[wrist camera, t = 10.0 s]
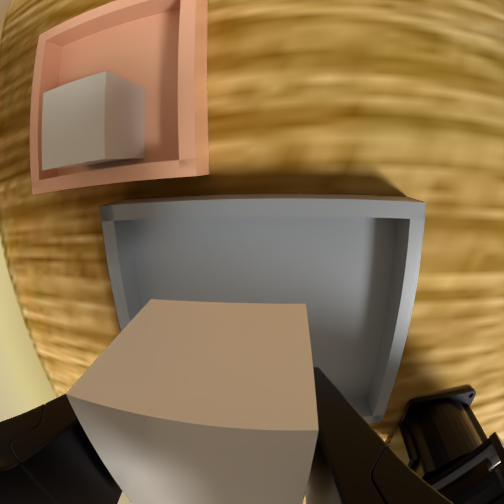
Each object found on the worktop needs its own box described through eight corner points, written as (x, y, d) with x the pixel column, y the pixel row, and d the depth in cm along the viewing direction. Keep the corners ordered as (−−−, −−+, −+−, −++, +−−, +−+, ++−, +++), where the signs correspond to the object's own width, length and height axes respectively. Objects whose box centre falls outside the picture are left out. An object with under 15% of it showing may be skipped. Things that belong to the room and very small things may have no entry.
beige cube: (305, 303, 7) (318, 429, 3) (297, 416, 8) (296, 526, 5) (151, 298, 8) (65, 394, 4) (173, 406, 9) (131, 503, 5)
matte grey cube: (144, 88, 14) (106, 71, 10) (144, 158, 15) (104, 158, 11) (87, 101, 14) (43, 92, 11) (87, 166, 16) (42, 170, 12)
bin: (407, 196, 15) (425, 202, 12) (374, 399, 19) (381, 422, 16) (122, 200, 16) (99, 206, 14) (156, 391, 20) (144, 412, 18)
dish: (207, -1, 13) (196, -21, 10) (209, 174, 16) (196, 176, 13) (60, 42, 14) (39, 34, 12) (56, 190, 17) (32, 194, 14)
